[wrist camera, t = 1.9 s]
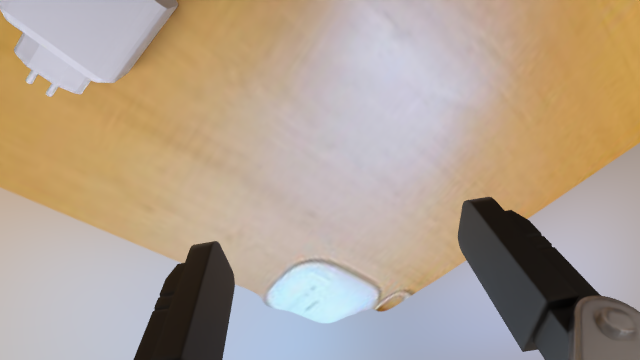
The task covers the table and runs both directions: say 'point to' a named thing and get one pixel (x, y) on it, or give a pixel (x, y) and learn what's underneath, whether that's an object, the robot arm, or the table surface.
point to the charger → (84, 37)
